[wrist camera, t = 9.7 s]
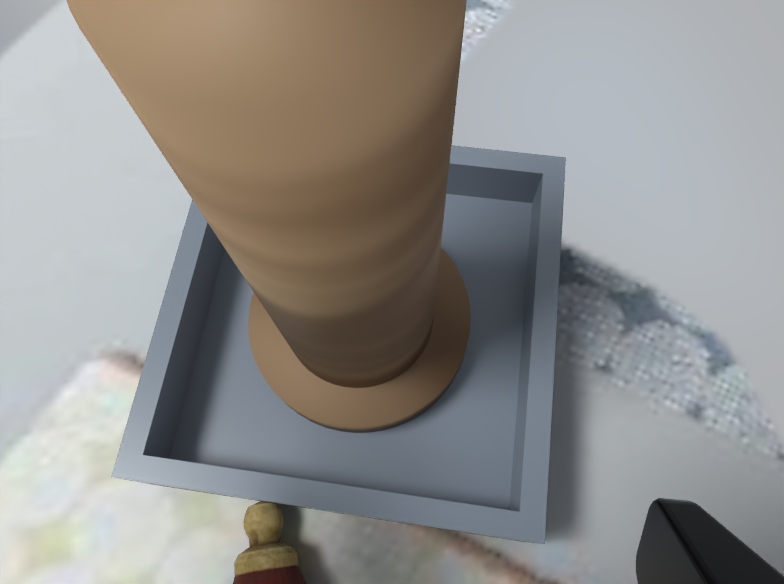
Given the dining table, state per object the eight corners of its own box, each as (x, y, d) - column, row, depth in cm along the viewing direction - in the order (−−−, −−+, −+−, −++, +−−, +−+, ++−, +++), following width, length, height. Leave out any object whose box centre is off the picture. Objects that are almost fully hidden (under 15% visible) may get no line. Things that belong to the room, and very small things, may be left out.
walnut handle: (413, 471, 16) (420, 321, 5) (217, 376, 17) (-181, 58, 6) (499, 277, 18) (659, -178, 6) (317, 202, 19) (173, -305, 8)
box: (525, 541, 16) (544, 543, 14) (151, 484, 17) (111, 477, 15) (547, 201, 20) (566, 157, 18) (237, 166, 21) (215, 120, 18)
